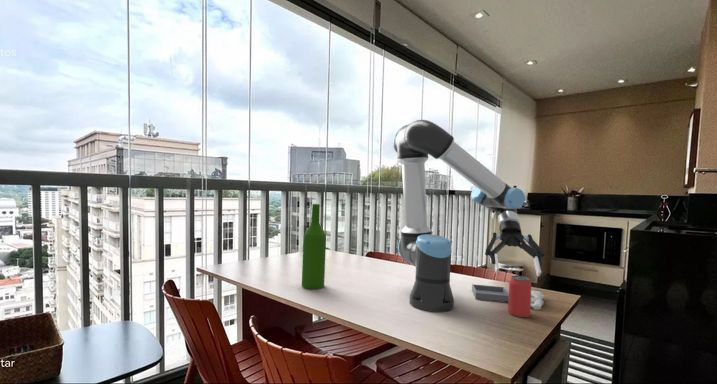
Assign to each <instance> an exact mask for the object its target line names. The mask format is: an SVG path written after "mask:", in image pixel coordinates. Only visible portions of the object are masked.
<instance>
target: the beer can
mask: <svg viewBox="0 0 717 384" xmlns="http://www.w3.org/2000/svg"><path fill="white" fill-rule="evenodd" d="M508 283H509V284H508V293H509V303H507V304H508V306H507V307H508V308H507V309H508V314H510V315H512V316H514V317H517V318H528V317H530V316H531V311H532V310H531V309H532V307H531V290H532V283H531V279H530V277H528V276H523V275H512V276H511V277H510V280H509V282H508Z"/></svg>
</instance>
